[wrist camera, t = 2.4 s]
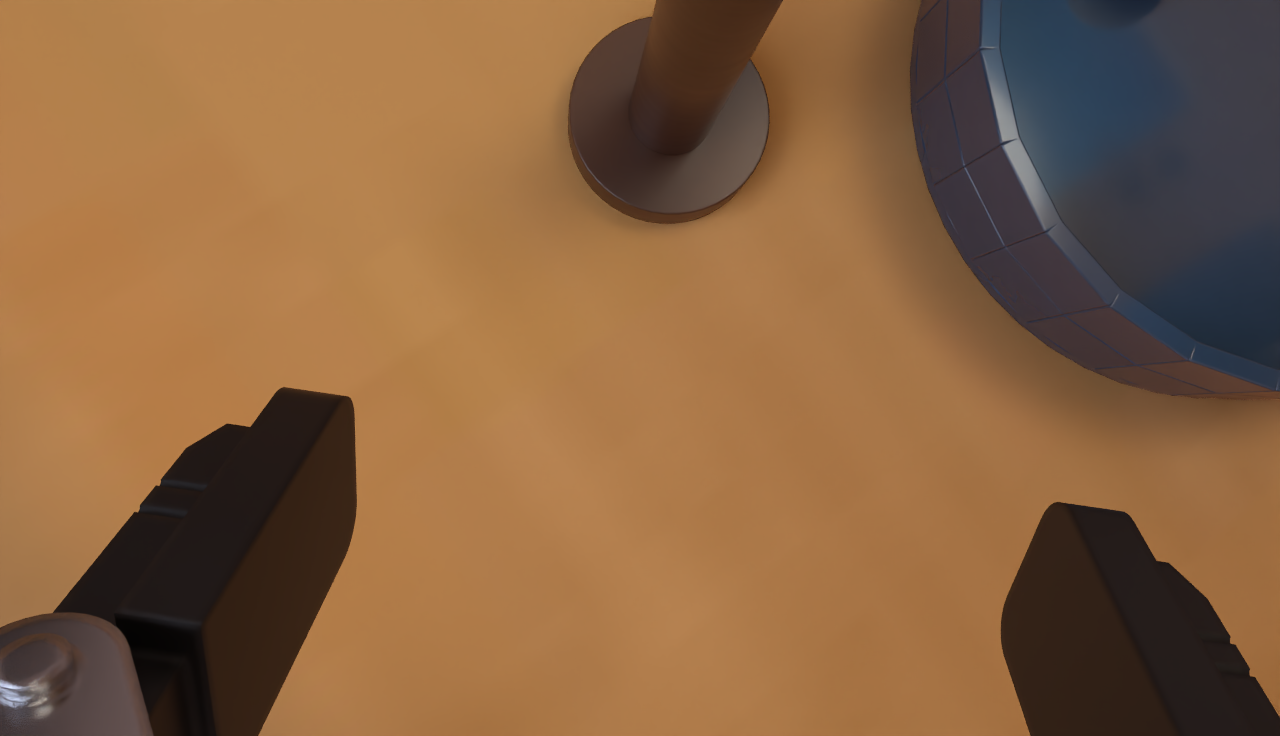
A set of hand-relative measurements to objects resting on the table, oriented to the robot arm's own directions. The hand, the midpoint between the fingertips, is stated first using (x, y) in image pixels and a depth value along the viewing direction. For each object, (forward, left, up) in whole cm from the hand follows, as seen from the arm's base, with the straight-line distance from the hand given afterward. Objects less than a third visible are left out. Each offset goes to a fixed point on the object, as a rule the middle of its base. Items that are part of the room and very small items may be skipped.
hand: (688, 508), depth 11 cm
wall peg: (-4, +9, -18) cm, 21 cm away
